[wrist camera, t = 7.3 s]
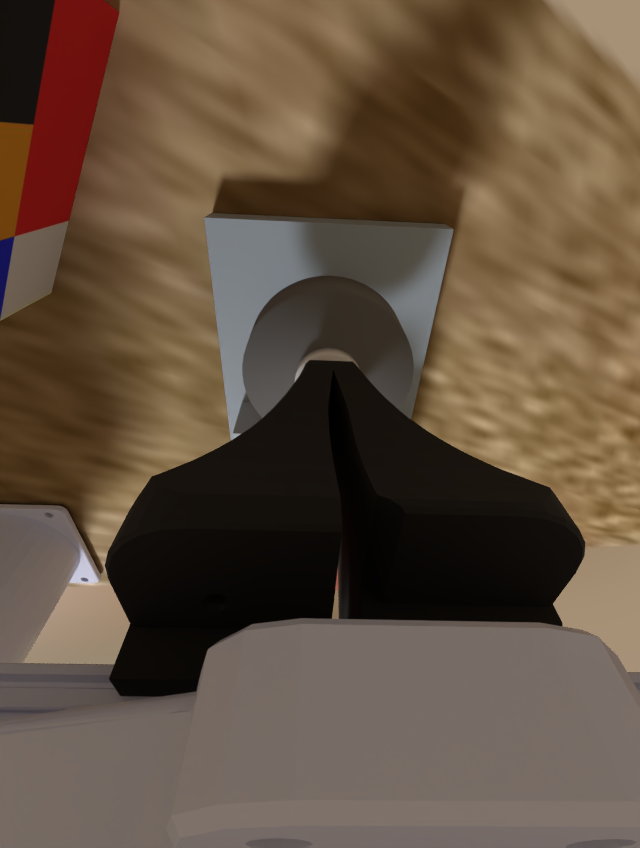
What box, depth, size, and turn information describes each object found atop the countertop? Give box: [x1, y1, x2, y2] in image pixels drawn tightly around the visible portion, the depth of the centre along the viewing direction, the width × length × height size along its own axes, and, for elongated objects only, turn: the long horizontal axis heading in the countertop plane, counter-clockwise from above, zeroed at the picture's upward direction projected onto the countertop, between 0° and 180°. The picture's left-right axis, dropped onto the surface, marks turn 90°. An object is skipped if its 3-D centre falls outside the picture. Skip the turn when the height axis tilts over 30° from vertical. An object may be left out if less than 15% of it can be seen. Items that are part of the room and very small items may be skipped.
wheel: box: [242, 276, 414, 418], centre depth 12 cm, size 5×5×2 cm
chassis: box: [204, 213, 454, 440], centre depth 18 cm, size 9×17×4 cm, turn 178°
